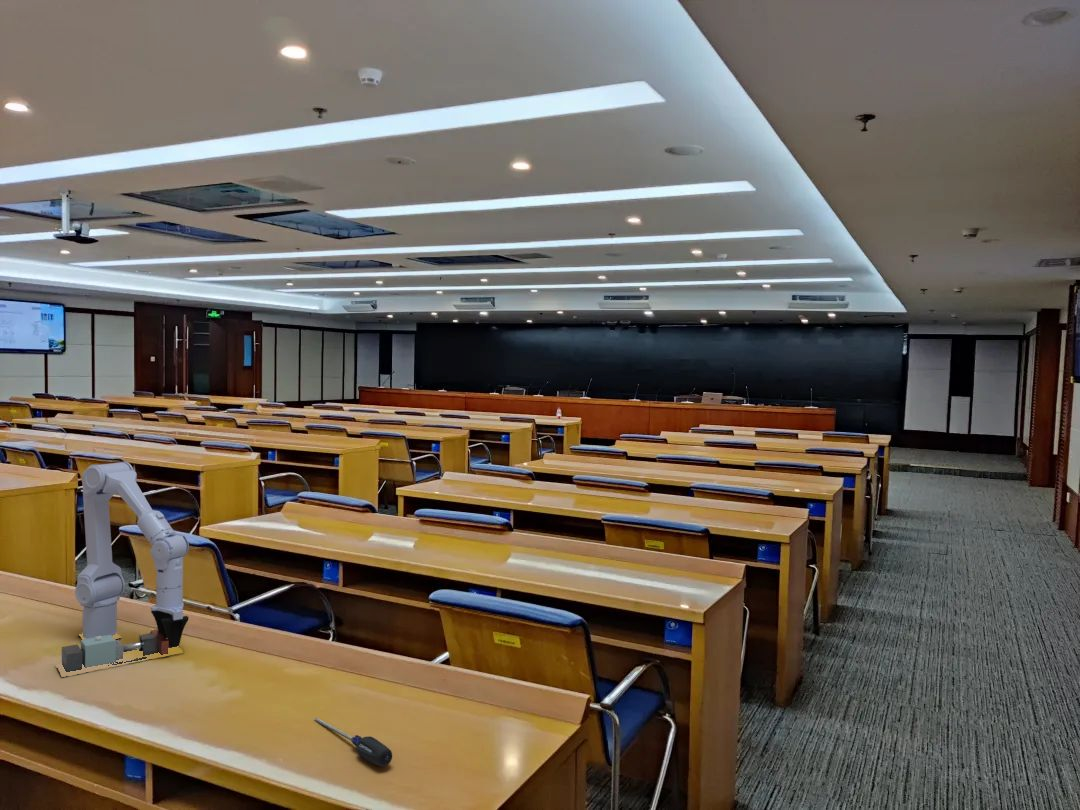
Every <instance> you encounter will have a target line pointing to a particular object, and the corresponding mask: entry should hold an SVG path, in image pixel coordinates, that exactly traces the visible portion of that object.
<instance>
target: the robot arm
mask: <svg viewBox="0 0 1080 810" xmlns="http://www.w3.org/2000/svg"><path fill="white" fill-rule="evenodd" d="M137 478H138V475H137V472H136V470H134V468H133V466H132V465H131V463H129V462H127V461H120V462H115V463H114V462H113V463H112V462H111V463H102V464H91V465H89V466H88V467H87V468H86V469H85V470H84V471H83V472H82V473H81V482H82V483H81V484H82V502H83V516H84V517H83V518H84V519H83V520H84V531H85V532H84V533H85V548H86V549H85V550H86V562H87V563H86V564H87V565H86V566H85V567H84V569H82V571H81V572H80V573H78V575H77V577H76V578H77V583H76V586H75V591H74V594H75V598H76V600H77V602H78V603H79V604H80V606H81V607H82V620H81V621H82V629H81V632H82V631H83V637H84V638H86V639H89V638H95V637H96V636H106V635H112V636H113V635H115V634H116V633H117V632H118V628H117V627H118V601H120V598H121V596H122V595H123V594H124V592H125V589H126V582H125V578H124V577H123V575H122V568H121V567H120V566H119V565H117V564H116V563H115V562H113V550H112V536H111V535H112V533H111V518H110V505H109V504H110V503H109V501H110V500H111V499H112V498H113V496H114V495H115V496H120V498H121V499H122V500H123V502H125V503H126V504H127V506H128V507H129V509H131V510H132V512H133V513H134V514H135V516H136V517H137V518H138V520H137V524H136V525H137V527H138V529H139V530H140V531H141V533H142V534H143V536H144V537H145V538H146V540H147V541H148V542H149V544H150V545H151V548H150V549H149V551H150V555H151V558H152V559H153V562H154V563H153V564H154V565H153V567H154V569H155V571H156V572H155V573H156V575H155V576H156V577H155V578H156V586H155V588H156V589H155V590H156V593H155V594H156V597H155V598H156V601H155V603H156V604H155V605H152V606H151V605H150V613H151V614H152V616H153V617H154V620H155V623H156V627H157V630H158V631H159V632H160V633H161V634H162V635H163V636H164V637H165V638H166V639H167V640H168V641H169V648H172V647H177V646H179V647H180V644H181V640H182V636H183V632H184V628H185V627H186V625H187V623H188V621H189V616H188V615H184V610H183V609H184V600H183V598H184V557H186V556H187V554H188V553H189V549H190V548H189V547H190V544H189V541H188V539H187V537H186V535H184V534H182V533H180V532H178V531H177V530H174V529H173V528H172V527H171V525H170V523H169V522H168V521H167V519H166V518H165V515H164V514H163V513H162V512H161V511H160V510H156V509H153V508H152V507H151V505H150V503H149V502H148V500H147V499H146V496H145V495H144V493H143V492H142V490H141V488H140V487H139V485H138V483H137Z"/></svg>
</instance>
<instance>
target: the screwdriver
mask: <svg viewBox="0 0 1080 810" xmlns="http://www.w3.org/2000/svg"><path fill="white" fill-rule="evenodd" d="M313 719H314V721H315V722H316V723H318V724H320V725H322V726H324V727H326V728H327V729H329V730H331V731H333V732H334V733H336V734H338V735H340V736H342V737H344V738H346V739H347V740H349V741H351V743H352V744H353V745H354V746H355V747H356V752H357V754H358V755H359V757H360V758H361V759H363V760H364V761H367V762H369V763H371V764H373V765H376V766H379V767H386V766H388V765H390V763H391V762H392V760H393V752H392V750H391V749H390V748H389V747H387V745H385V744H384V743H382V742H381V741H380V740H378V739H376V738H375V737H373V736H363V737H361V735H358V734H356V735H354V736H352V735H350V734H349V733H346V732H345V731H343V730H340V729H338V728H336V727H335V726H333V725H331V724H330V723H328V722H325V721H324V720H322V719H320V718H317V717H314V718H313Z"/></svg>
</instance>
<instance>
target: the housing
mask: <svg viewBox="0 0 1080 810" xmlns="http://www.w3.org/2000/svg"><path fill="white" fill-rule="evenodd" d="M80 649H81V650H82V664H83V665H84V667H85V668H87V667H92V666H98V665H103V664H109V663H114V662H116V640H115V639H114V638H113V637H112V635H106V636H96V637H95V638H89V639H84V640H81V639H80Z"/></svg>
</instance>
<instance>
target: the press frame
mask: <svg viewBox="0 0 1080 810" xmlns="http://www.w3.org/2000/svg"><path fill="white" fill-rule="evenodd" d="M138 640H139V641H138V642H142V641H143V648H142V649H139V651H143V656H145V655H150V654H154V653H158V637H157V636H156V635H155V634H154V633H150V632H149V633H145V634H140V635H139V639H138ZM146 658H147V657H142V658H139V659H138V658H136V659H134V660H131V661H126V662H132V661H138V660H142V659H146ZM126 662H124V663H126ZM61 663H62V665H63V667H64V669H65V671H66V672H70V671H76V670H81V669H82V650H81V646H79V644H78V643H77V644H71V645H66V646H61ZM115 663H117V664H122V663H123V661H122V662H119V663H118V662H115ZM110 664H112V663H110ZM117 664H114V663H113V664H112V665H117ZM108 666H109V665H108Z"/></svg>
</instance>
